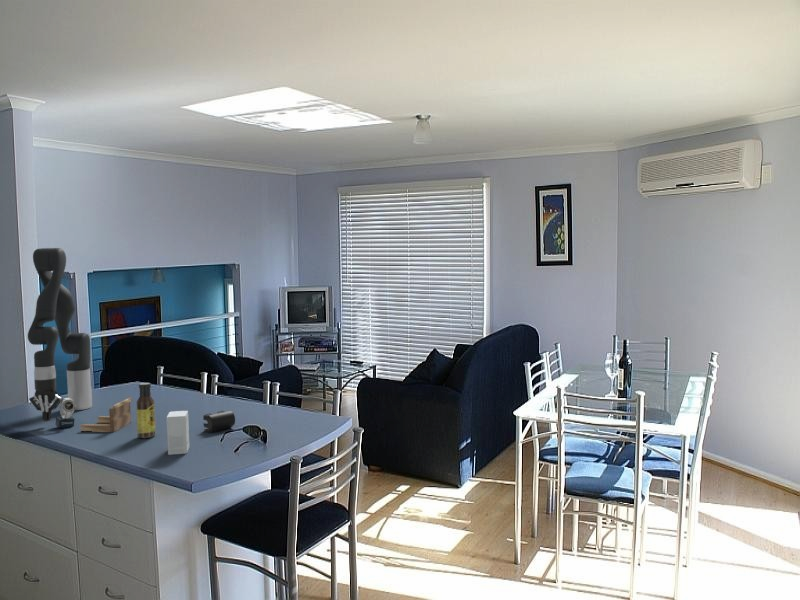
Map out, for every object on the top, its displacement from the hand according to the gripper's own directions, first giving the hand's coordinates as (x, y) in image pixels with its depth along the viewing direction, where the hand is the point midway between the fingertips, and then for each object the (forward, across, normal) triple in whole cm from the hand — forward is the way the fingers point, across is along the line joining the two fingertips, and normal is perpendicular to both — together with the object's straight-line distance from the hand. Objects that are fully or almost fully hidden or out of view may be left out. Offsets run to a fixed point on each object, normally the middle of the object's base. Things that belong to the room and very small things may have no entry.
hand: (47, 420), depth 264 cm
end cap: (+2, -70, +2) cm, 70 cm away
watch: (+2, -7, 0) cm, 8 cm away
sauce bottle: (+2, -46, +12) cm, 48 cm away
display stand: (+2, -24, 0) cm, 24 cm away
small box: (+2, -66, +29) cm, 72 cm away
